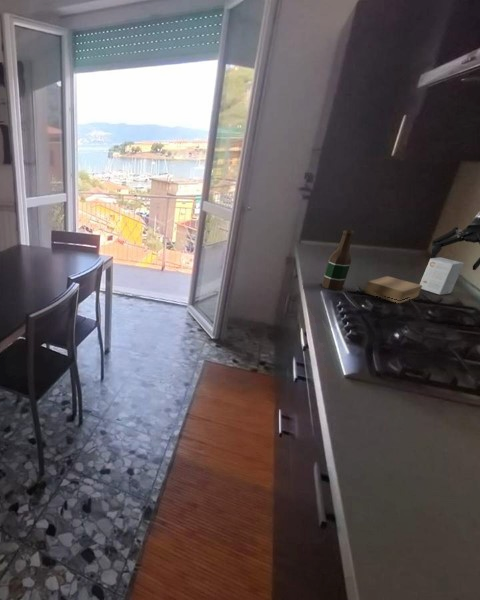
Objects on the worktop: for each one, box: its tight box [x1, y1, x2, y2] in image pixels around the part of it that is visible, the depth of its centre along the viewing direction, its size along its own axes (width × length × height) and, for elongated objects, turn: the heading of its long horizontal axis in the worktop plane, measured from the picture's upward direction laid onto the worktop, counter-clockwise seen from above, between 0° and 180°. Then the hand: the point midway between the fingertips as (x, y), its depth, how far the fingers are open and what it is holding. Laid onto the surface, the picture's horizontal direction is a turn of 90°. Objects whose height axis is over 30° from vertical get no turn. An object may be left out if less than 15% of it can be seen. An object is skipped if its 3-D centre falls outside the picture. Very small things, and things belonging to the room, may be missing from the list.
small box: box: [419, 257, 465, 296], centre depth 144 cm, size 8×6×13 cm
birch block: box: [363, 275, 422, 304], centre depth 142 cm, size 12×14×5 cm
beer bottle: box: [321, 229, 355, 291], centre depth 146 cm, size 8×8×24 cm
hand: (451, 263), depth 144 cm, fingers open, 13 cm apart
